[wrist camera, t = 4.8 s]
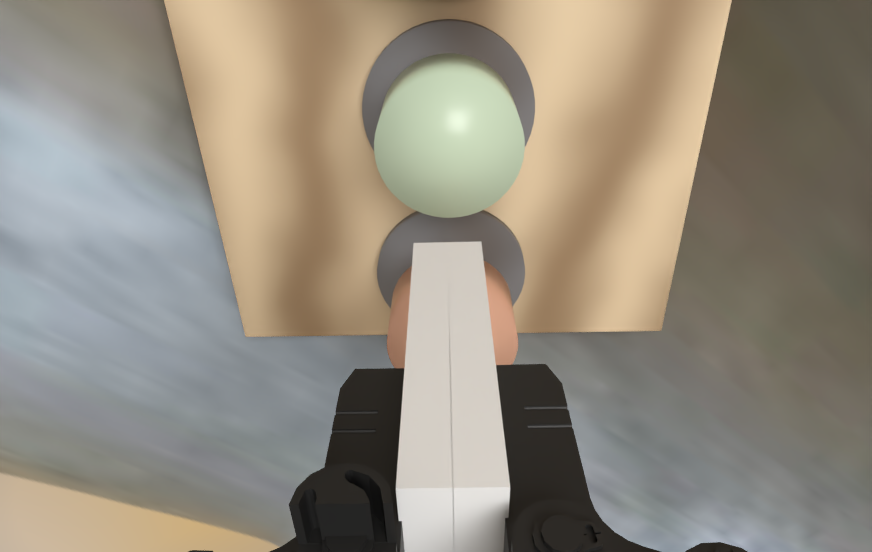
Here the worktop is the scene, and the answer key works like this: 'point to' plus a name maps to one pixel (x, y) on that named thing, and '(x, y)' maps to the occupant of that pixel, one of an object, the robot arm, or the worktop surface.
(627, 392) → the worktop surface
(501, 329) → the terracotta button
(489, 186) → the sage button
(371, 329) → the button board
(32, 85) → the worktop surface
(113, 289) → the worktop surface
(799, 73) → the worktop surface
